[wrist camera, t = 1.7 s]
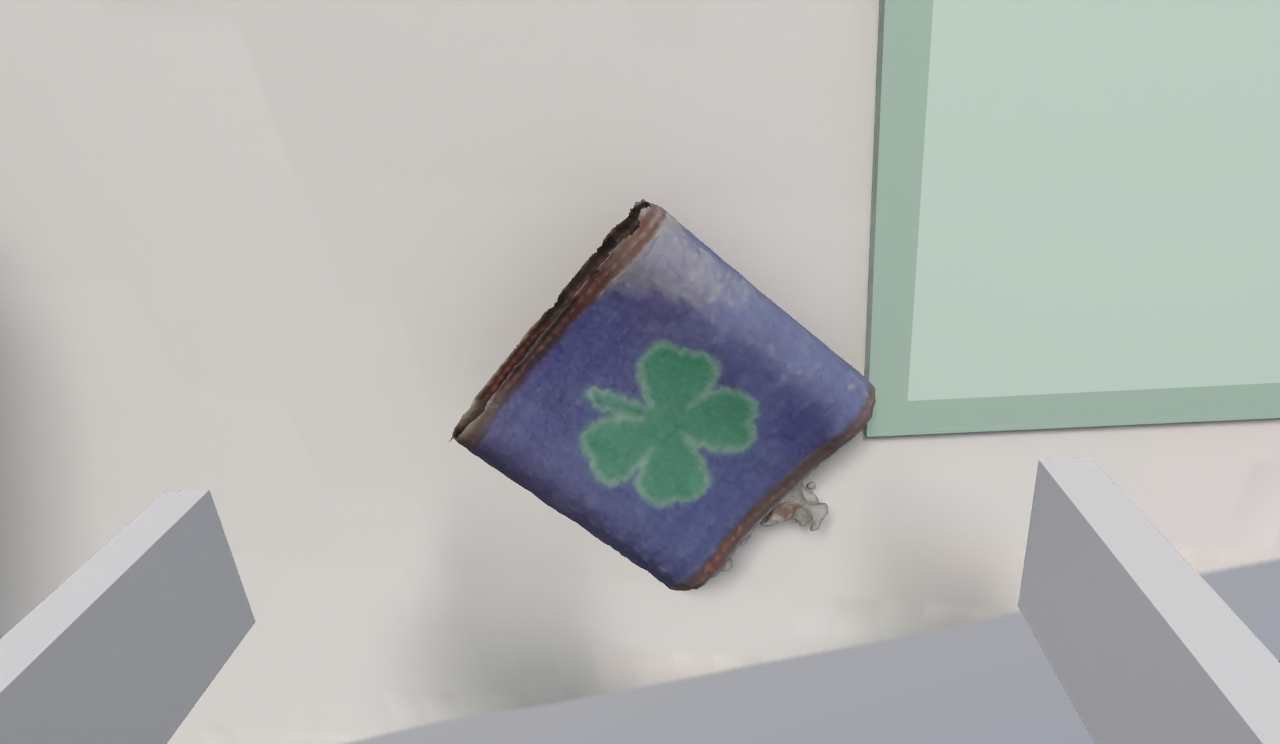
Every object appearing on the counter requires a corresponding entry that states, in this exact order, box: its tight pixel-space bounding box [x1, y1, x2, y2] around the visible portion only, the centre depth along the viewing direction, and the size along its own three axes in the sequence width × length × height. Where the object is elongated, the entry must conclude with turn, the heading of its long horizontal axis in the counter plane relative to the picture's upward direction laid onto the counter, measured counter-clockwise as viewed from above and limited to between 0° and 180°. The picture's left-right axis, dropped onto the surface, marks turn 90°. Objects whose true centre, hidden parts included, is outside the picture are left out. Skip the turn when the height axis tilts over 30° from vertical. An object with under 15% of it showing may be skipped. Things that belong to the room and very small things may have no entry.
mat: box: [863, 0, 1280, 437], centre depth 21 cm, size 18×18×1 cm
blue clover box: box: [449, 199, 876, 591], centre depth 24 cm, size 9×3×11 cm
